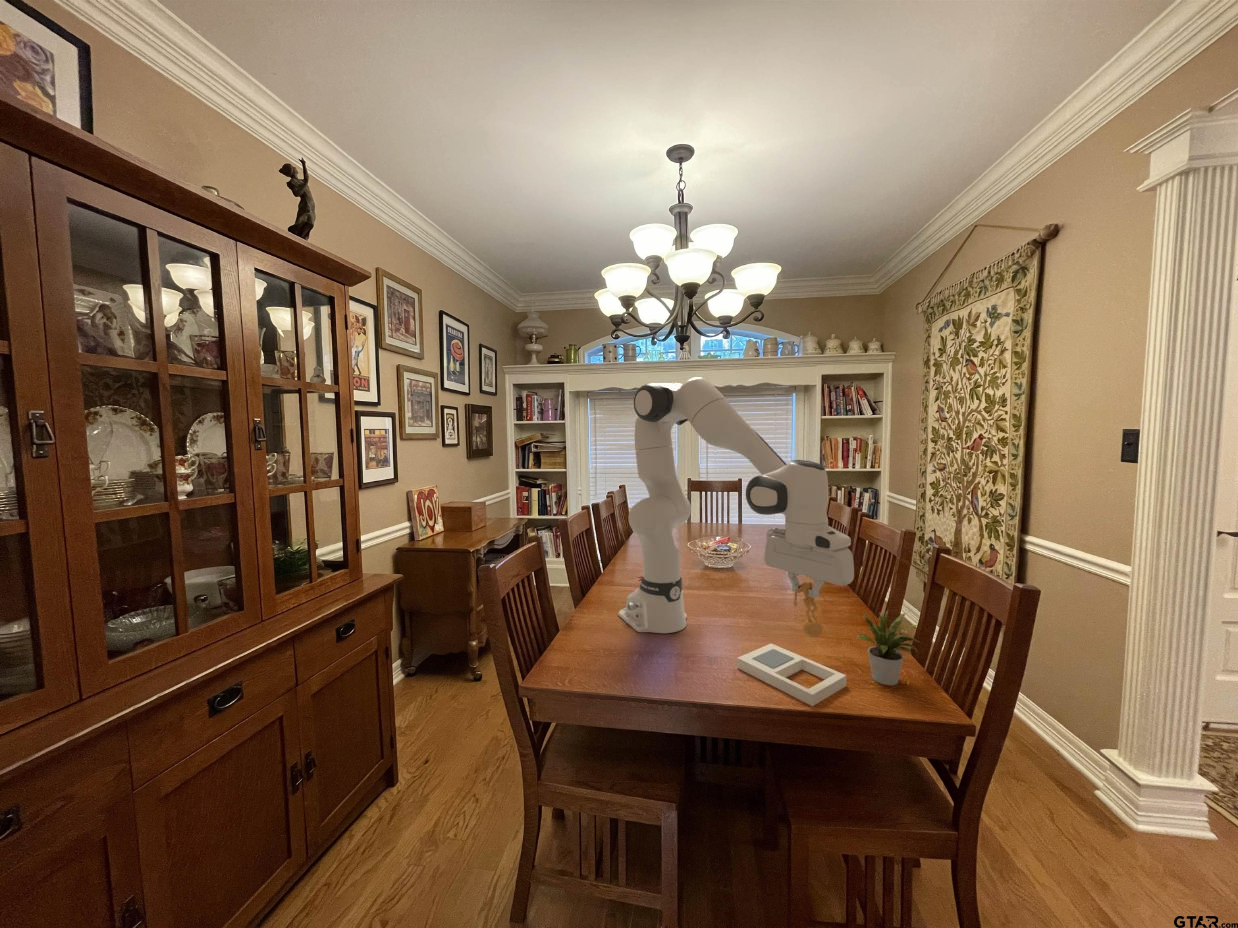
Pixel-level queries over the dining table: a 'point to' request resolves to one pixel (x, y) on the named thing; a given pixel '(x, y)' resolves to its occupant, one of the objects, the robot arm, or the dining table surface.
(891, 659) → the house plant
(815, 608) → the figurine
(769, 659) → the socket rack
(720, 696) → the dining table surface
